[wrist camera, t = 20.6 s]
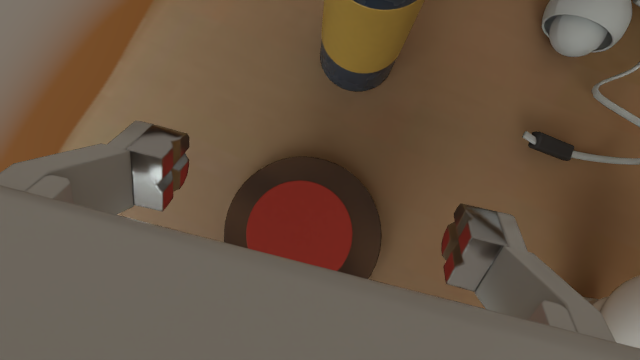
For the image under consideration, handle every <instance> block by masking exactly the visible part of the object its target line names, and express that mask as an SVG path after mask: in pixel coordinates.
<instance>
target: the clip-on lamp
mask: <svg viewBox="0 0 640 360" xmlns="http://www.w3.org/2000/svg"><path fill="white" fill-rule="evenodd" d="M633 3H634V4H636V5H637V6H639V7H640V0H633ZM631 17H632V4H631V0H550V1H549V3H548V4H547V6H546V8H545V11H544V15H543V19H542V29H543V31H544V33H545V34H546V35H547V36H548V37H549V39H550V42H551V45H552V46H553V48H554V49H555V50H556V51H557V52H558V53H560V54H562V55H565V56H568V57H579V56H583V55H586V54H589V53H590V52H600V51H605V50H607V49H609V48H611V47H612V46H613V45H615V44H616V43H617V42H618V41H619V40H620V39H621V37H622V36H623V34H624V33H625V31H626V29H627V28H628V26H629V23H630V21H631ZM639 67H640V61H639V62H638V64H637V65H635V66H634V67H632V68H631V69H629V70H627V71H625V72H623V73H620V74H618V75H615V76H613V77H610V78H608V79H605V80H603V81H601V82H599V83H597V84H596V85H594V87H593V89H592V90H591V91H592V94H593V96H594V98H595V99H597V100H598V101H599V102H600V103H602V104H603V105H604V106H606V107H607V108H609V109H611V110H612V111H614V112H615V113H617V114H619V115H620V116H622V117H624V118H625V119H627V120H629V121H630V122H632V123H634V124H635V125H637V126H638V127H640V118H638V117H636V116H635V115H633V114H631V113H630V112H628V111H626V110H625V109H623V108H621V107H620V106H618V105H616V104H615V103H613V102H611V101H610V100H609V99H607V98H606V97H604V96H603V95H602V94H601V93H600V91H599V90H598V88H599V86H601V85H602V84H604V83H606V82H609V81H612V80H615V79H617V78H620V77H623V76H625V75H628V74H630V73H632V72H633V71H635V70H637V69H638V68H639ZM522 137H523V138H524V139H526V140H527V141H529V144H528V146H529V147H530V148H532V149H535V150H537V151H540V152H543V153H545V154H548V155H551V156H553V157H556V158H559V159H561V160H565V161H568V160H570V159H571V157H572V158H577V159H582V160H588V161H595V162H603V163H613V164H633V165H638V164H640V158H635V159H632V158H617V157H608V156H600V155H594V154H588V153H582V152H578V151H573V150H574V146H573V145H571V144H568V143H566V142H563V141H561V140H558V139H556V138H554V137H551V136H549V135H546V134H544V133H541V132H533V133H532V134H530V133H529V132H527V131H526V132H525V133H524V134H523V136H522Z"/></svg>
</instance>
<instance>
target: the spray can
mask: <svg viewBox="0 0 640 360" xmlns="http://www.w3.org/2000/svg"><path fill="white" fill-rule="evenodd" d="M423 3H424V0H324V10H323V22H322V39H321V51H320V60H321V65H322V68H323V70H324V72H325V74H326V75H327V77H328V78H329V79H330V80H331V81H332V82H333V83H334V84H336V85H337V86H339V87H341V88H343V89H346V90H350V91H366V90H370V89H373V88H375V87H377V86H378V85H380V84H381V83H382V82H383V81H384V80H385V79H386V78H387V77H388V75H389V73H390V71H391V69H392V67H393V65H394V63H395V61H396V59H397V57H398V55H399V53H400V51H401V49H402V47H403V45H404V43H405V41H406V39H407V36H408V34H409V32H410V30H411V28H412V26H413V24H414V22H415V19H416V17H417V15H418V13H419V11H420V9H421V7H422V5H423Z"/></svg>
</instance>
